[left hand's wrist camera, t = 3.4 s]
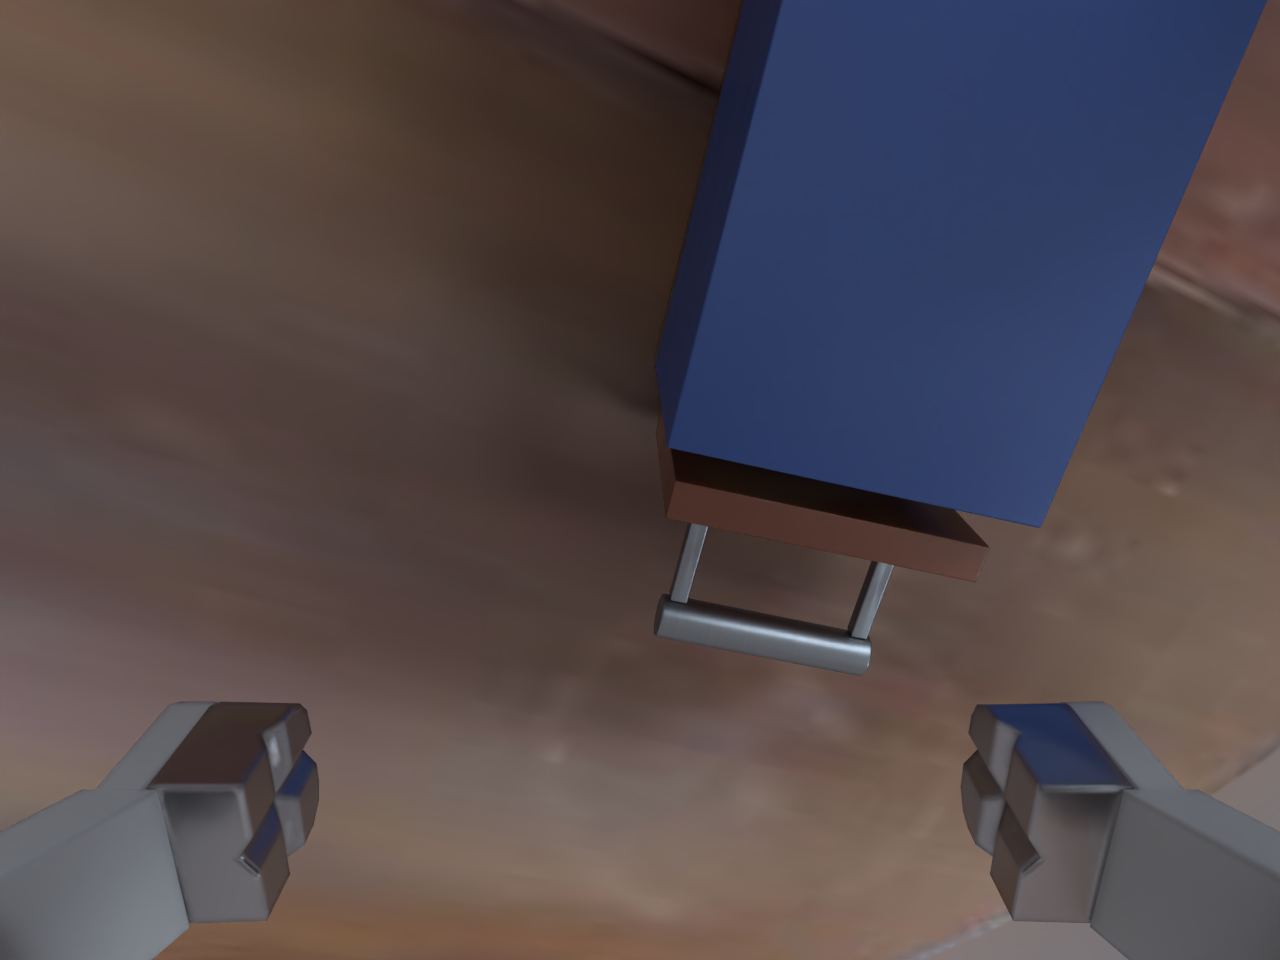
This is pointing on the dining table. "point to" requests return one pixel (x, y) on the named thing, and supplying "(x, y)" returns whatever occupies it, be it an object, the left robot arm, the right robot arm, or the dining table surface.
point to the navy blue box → (932, 234)
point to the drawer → (804, 519)
